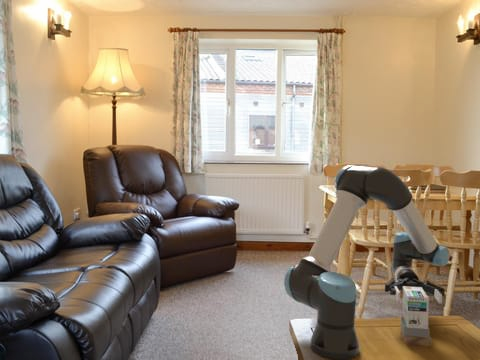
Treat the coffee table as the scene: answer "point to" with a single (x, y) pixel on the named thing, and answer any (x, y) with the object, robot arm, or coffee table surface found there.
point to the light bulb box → (415, 307)
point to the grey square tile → (414, 330)
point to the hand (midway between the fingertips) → (419, 298)
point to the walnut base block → (416, 340)
